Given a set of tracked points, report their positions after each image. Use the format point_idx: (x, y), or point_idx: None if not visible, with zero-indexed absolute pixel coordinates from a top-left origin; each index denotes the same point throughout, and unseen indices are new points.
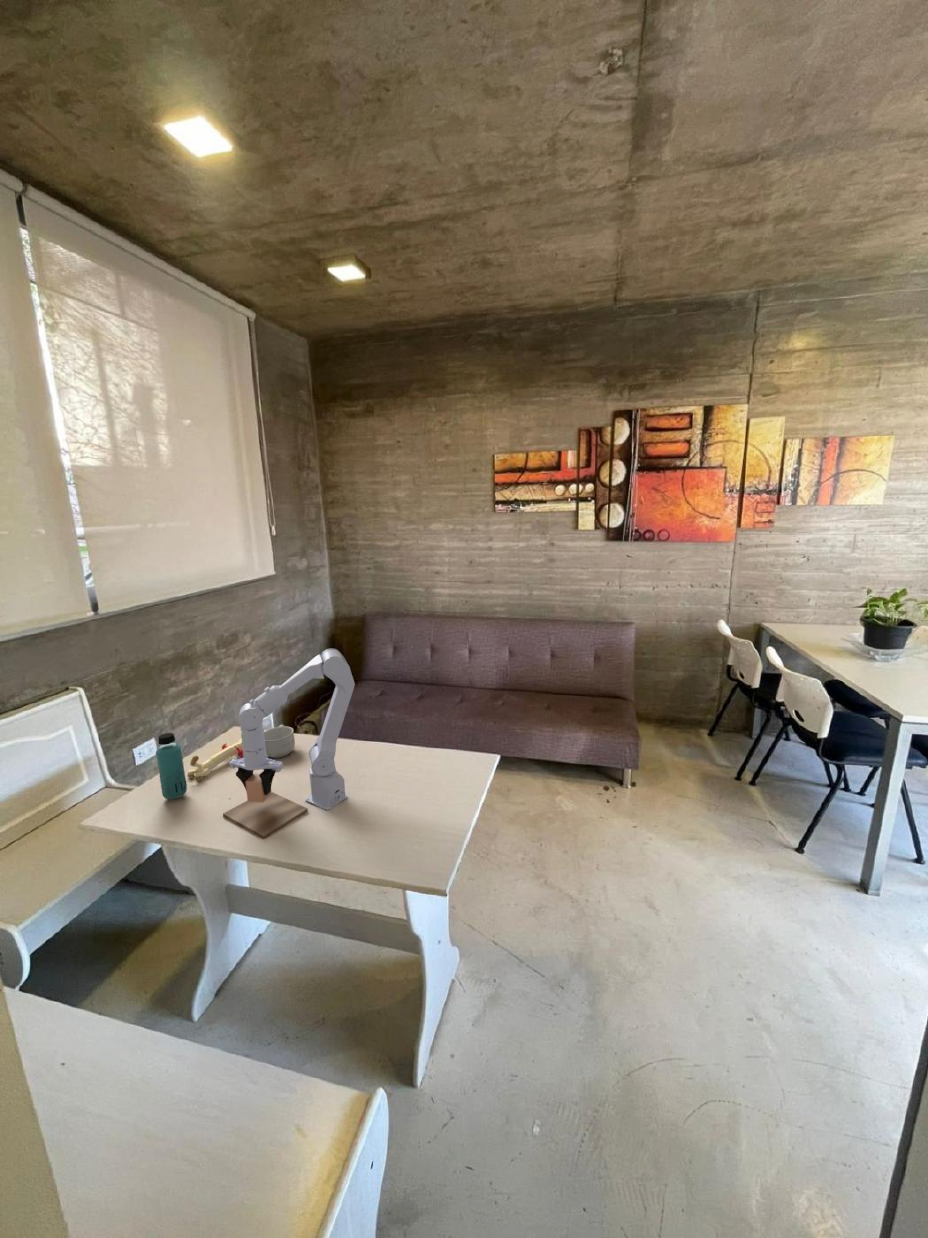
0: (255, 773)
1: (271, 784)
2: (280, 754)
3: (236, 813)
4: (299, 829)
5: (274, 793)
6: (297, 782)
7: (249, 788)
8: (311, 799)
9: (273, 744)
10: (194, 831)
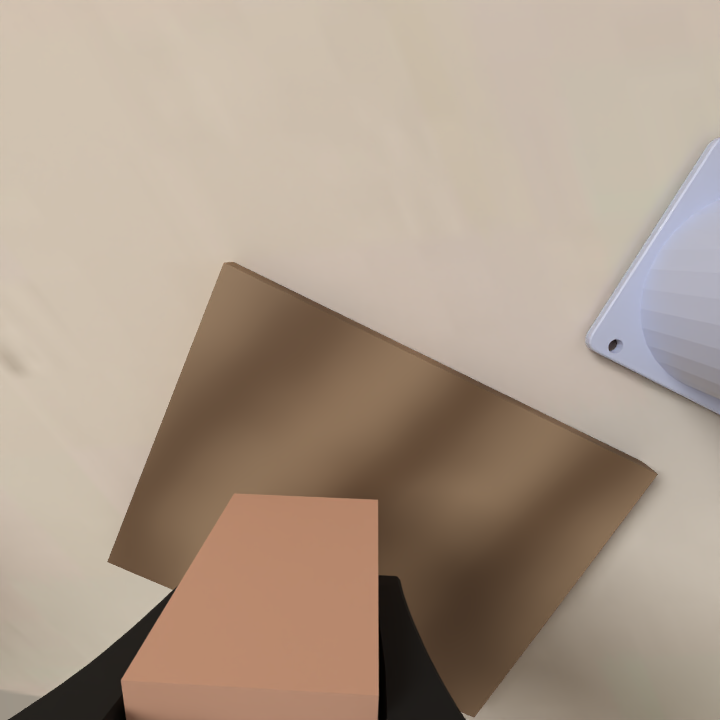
0: (140, 690)
1: (415, 627)
2: None
3: (191, 556)
4: (639, 617)
5: (314, 310)
6: (406, 59)
7: None
8: (644, 346)
9: None
10: (65, 658)
